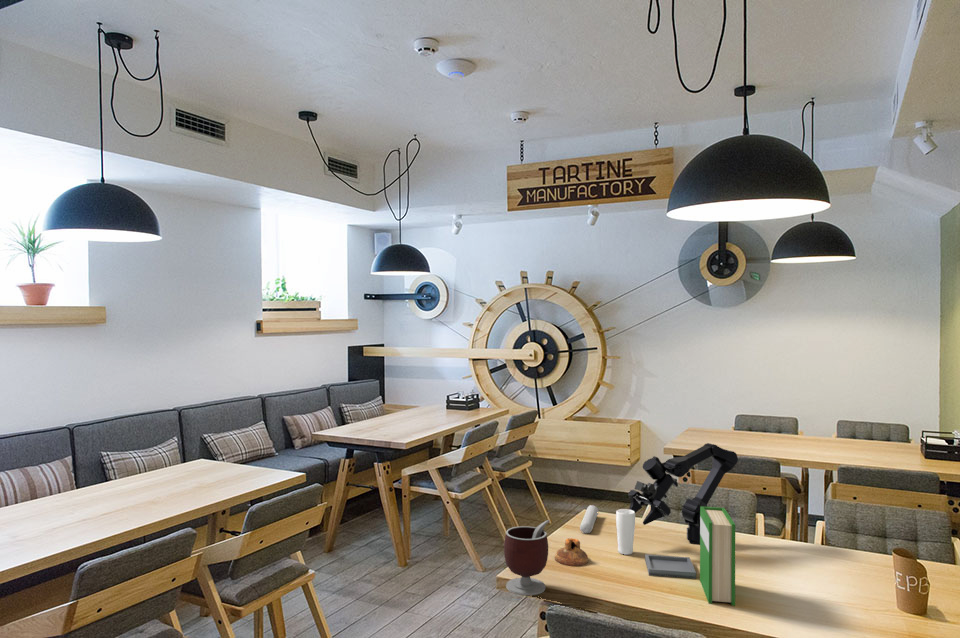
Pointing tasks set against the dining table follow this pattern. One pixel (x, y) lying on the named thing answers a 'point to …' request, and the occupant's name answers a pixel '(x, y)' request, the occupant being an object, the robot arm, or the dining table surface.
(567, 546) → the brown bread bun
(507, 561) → the mate gourd
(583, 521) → the tube
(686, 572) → the serving tray
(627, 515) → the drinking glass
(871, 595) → the dining table surface
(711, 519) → the hardback book
